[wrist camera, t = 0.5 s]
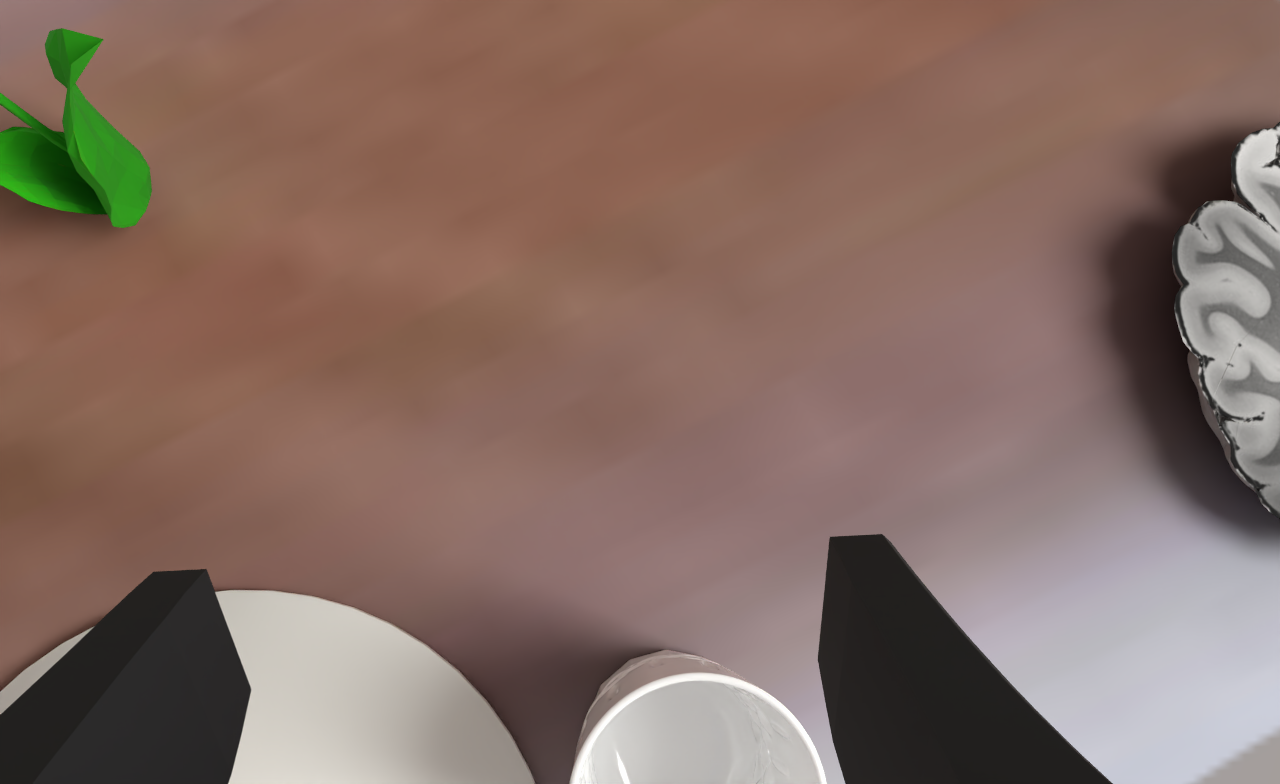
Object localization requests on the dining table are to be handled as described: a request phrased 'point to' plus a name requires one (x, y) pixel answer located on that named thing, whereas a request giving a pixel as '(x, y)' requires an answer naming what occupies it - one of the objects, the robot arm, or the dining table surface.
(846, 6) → the dining table surface
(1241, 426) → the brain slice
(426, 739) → the white plate
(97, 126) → the flower
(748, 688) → the white cup
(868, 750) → the robot arm
